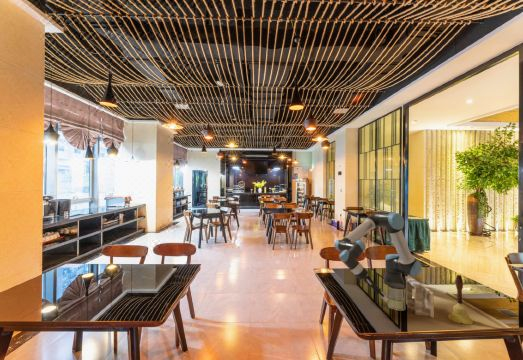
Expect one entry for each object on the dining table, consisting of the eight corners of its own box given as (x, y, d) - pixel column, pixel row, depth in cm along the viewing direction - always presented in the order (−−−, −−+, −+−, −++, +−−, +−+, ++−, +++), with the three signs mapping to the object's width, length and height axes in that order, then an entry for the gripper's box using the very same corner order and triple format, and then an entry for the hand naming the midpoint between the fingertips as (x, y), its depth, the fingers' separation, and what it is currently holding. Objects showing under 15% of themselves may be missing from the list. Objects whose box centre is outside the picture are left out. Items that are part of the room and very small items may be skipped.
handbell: (479, 322, 153) (477, 277, 154) (465, 326, 148) (463, 279, 150) (456, 313, 164) (454, 271, 166) (442, 316, 160) (441, 273, 161)
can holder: (405, 302, 179) (404, 275, 180) (420, 304, 178) (420, 276, 179) (416, 315, 160) (415, 285, 161) (433, 317, 158) (433, 287, 159)
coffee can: (385, 303, 177) (385, 281, 178) (401, 304, 176) (401, 282, 177) (390, 310, 167) (390, 286, 168) (408, 311, 166) (408, 288, 167)
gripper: (353, 272, 182) (380, 299, 178) (356, 277, 170) (385, 308, 165) (362, 264, 182) (388, 292, 178) (365, 270, 169) (394, 300, 165)
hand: (387, 300), depth 172 cm, fingers closed
